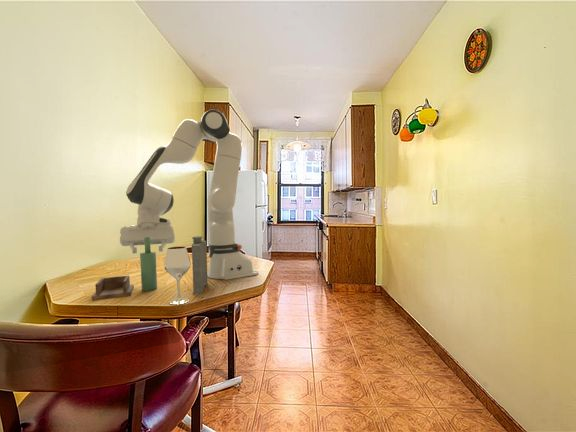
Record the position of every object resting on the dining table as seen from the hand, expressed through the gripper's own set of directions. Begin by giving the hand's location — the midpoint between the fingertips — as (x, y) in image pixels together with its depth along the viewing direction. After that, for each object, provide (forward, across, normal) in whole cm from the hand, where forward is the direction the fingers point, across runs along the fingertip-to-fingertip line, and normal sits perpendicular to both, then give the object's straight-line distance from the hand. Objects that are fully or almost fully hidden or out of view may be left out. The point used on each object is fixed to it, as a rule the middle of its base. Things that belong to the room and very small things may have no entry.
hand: (147, 251), depth 122 cm
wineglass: (+28, +10, -8) cm, 31 cm away
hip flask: (+18, +18, +2) cm, 26 cm away
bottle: (+12, 0, +8) cm, 15 cm away
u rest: (+13, -12, +8) cm, 19 cm away
